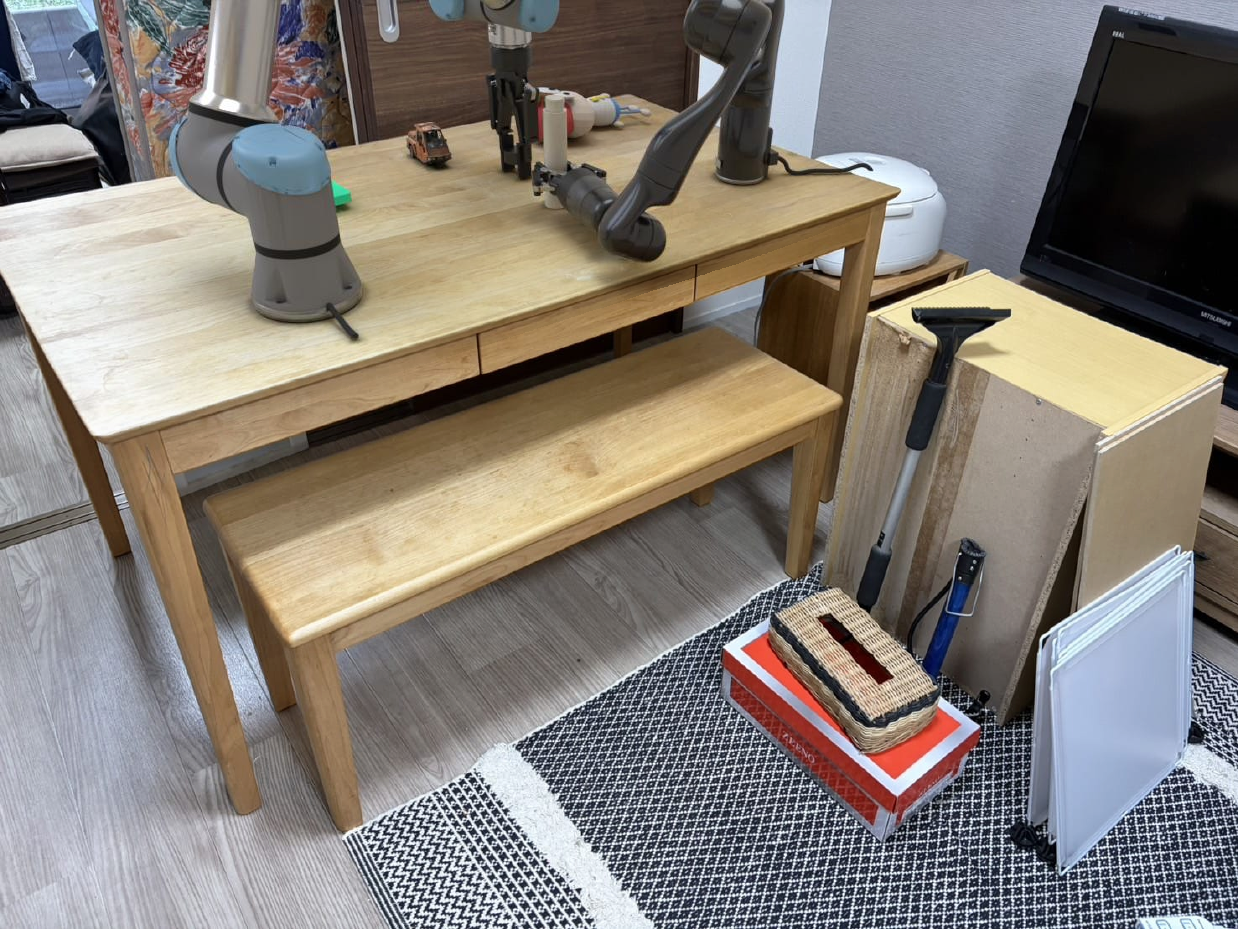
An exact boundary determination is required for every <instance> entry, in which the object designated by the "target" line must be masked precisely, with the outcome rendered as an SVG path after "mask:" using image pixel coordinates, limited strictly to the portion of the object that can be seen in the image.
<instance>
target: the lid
mask: <svg viewBox="0 0 1238 929" xmlns="http://www.w3.org/2000/svg"><path fill="white" fill-rule="evenodd" d="M504 162H505V163H506V164H509V165H515V166H517V147H516V144H514V145H511V146H507V147H505V148H504Z"/></svg>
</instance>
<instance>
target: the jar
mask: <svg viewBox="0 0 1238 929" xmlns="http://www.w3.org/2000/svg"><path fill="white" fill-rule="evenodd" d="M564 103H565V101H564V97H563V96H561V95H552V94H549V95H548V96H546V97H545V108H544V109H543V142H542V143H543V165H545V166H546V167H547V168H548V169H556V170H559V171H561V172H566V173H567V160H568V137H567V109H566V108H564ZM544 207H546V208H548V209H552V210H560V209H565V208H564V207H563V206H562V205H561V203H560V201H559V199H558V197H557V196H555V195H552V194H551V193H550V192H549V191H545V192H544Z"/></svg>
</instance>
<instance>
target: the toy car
mask: <svg viewBox="0 0 1238 929" xmlns="http://www.w3.org/2000/svg"><path fill="white" fill-rule="evenodd" d="M413 127H415V130H411V131H408V133H407V138H406V139H405V141H406V148H407V149H408V150H409V154H410V157H411V158H417V159H418V160H419V161H421V162H422V163H423V164H424V165H431V164H436V167H437V168H439V169H441V168H442V165H443V163H447V162H448V161H450V160H453V157H452V152H451V151H450V147H449V145H448V143H447V141H448V140H447V138H445V136H444V134H443V132H442V128H441V127H440V126H438V124H437V123H436V122H435V121H429V122H421V123H416V124H414V126H413Z"/></svg>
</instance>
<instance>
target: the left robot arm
mask: <svg viewBox="0 0 1238 929" xmlns="http://www.w3.org/2000/svg"><path fill="white" fill-rule="evenodd" d="M282 2H283V0H211V4H210V14H209V24H208V32H207V45H206V53H205V62H204V64H205V65H204V73H203V82H202V83H203V84H202V88H201V89H200V91H198V92H197V93H195V94H193V95H192V96H191V97H189V100H188V108H187V109H188V110H187V115H186V116H184V117H182V119H181V121H180V122H179V123H177V124H176V125H175V126H174V127H173V129H172V131H171V134H170V136H169V141H168V157H169V162H170V166H171V168H172V170H173V173H174V174H175V176H176V178H177V179H178V180H179V182H180V183H181V184H182V185H183V186H184V187H185V188H186V189H187V190H188V191H190V192H192V193H193V194H195V195H196V196H197V197H199V199H202V200H203V201H205V202H208V203H210V204H213V205H217V206H220V207H222V208H224V209H227V210H229V211H231V212H233V213H236V214H238V215H240V216H243V217H245V218H247V221H248V224H249V228H250V234H251V237H252V238H251V239H252V242H253V247H254V251H255V258H254V264H253V273H252V283H251V291H250V292H251V299H252V303H253V307H254V309H255V310H256V311H257V313H259V314H260V315H262V316H264V317H266V318H268V319H271V320H275V321H281V322H289V323H304V322H314V321H315V322H316V321H320V320H326V319H330V318H332V317H334V319H335V320H336V321H337V322H338V324H339V325H340V326H341V328H342V329H343V330H344V331H345V333H346V334H348V336H349V337H351V338H352V339H353V340H357V339H359V336H360V334H359V333H358V332H356V331H355V329H353V328H352V327H351V326H350V324H349V323H348V322H347V321H346V319H345V318H344V316H342V314H343V313H345V312H348V311H349V310H351V309H353V308H354V307H355V306H356V305H357V304H358V303H359V302H360V301H361V298H362V297H363V287H362V282H361V278H360V276H359V274H358V272H357V270H356V268H355V266H354V264H353V263H352V261H351V259H350V257H349V255H348V253H347V251H346V250H345V248H344V245H343V243H342V239H341V233H340V225H339V220H338V213H337V207H336V206H335V200H334V194H333V188H332V181H333V180H332V168H331V165H330V162H329V157H328V154H327V152H326V148H325V145H324V144H323V142H322V140H321V139H320V138H319V137H318V136H317V135H316V134H314V133H313V132H311V131H309V130H307V129H305V128H303V127H300V126H296V125H292V124H288V125H282V124H281V123H279V119H278V116H277V115H276V113H274V111H273V110H272V108H271V105H270V100H271V92H272V84H273V74H274V68H275V58H276V50H277V43H278V34H279V26H280V18H281V10H282ZM428 2H429V5H430V7H431V8H430V9H431V10H432V12H434V15H436V16H437V17H438V18H439V19H440V20H442V21H445V22H451V21H456V22H459V21H460V20H463V19H471V20H474V21H475V20H476V21H479V22H484V23H487V32H488V33H487V34H488V35H487V36H488V42H489V43H490V45H489V46H488V54H489V67H490V68H491V69H493V70H494V72H493V73H488V74H486V75H485V81H486V85H487V90H488V104H489V120H490V128H491V130H493V131H494V130H495V131H496V135H497V136H498V143H499V144H498V145H499V151H500V166H501V168H500V169H501V171H502V172H504V173H505V172H508V171H512V170H515V169H516V168H517V179H518V180H525V179H528V178H531V177H532V171H533V169H532V161H533V156H532V155H533V151H532V150H533V149H532V148H533V147H532V146H533V144H535V143H539V142H540V141H539V119H538V98H539V92H540V91H539V88H540V87H538V86H536V87H533V86H532V85H531V84H530V79H529V75H528V71H529V69H531V67H532V66H533V53H532V46H531V44H530V43H531V42H532V33H539V34H542V33H545V32H547V31H549V30H550V29H552V27H553V26H554V25H555V23H556V20H557V17H558V15H559V12H560V0H428ZM513 116H514V121H515V127H516V131H517V138H518V142H516V143H515V135H514V134H513V133H514V131H515V130H513V128H512V121H513V120H512V119H513ZM511 145H516V147H517V165H509V164H506V163H505V162H504V148H505V147H507V146H511Z"/></svg>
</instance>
